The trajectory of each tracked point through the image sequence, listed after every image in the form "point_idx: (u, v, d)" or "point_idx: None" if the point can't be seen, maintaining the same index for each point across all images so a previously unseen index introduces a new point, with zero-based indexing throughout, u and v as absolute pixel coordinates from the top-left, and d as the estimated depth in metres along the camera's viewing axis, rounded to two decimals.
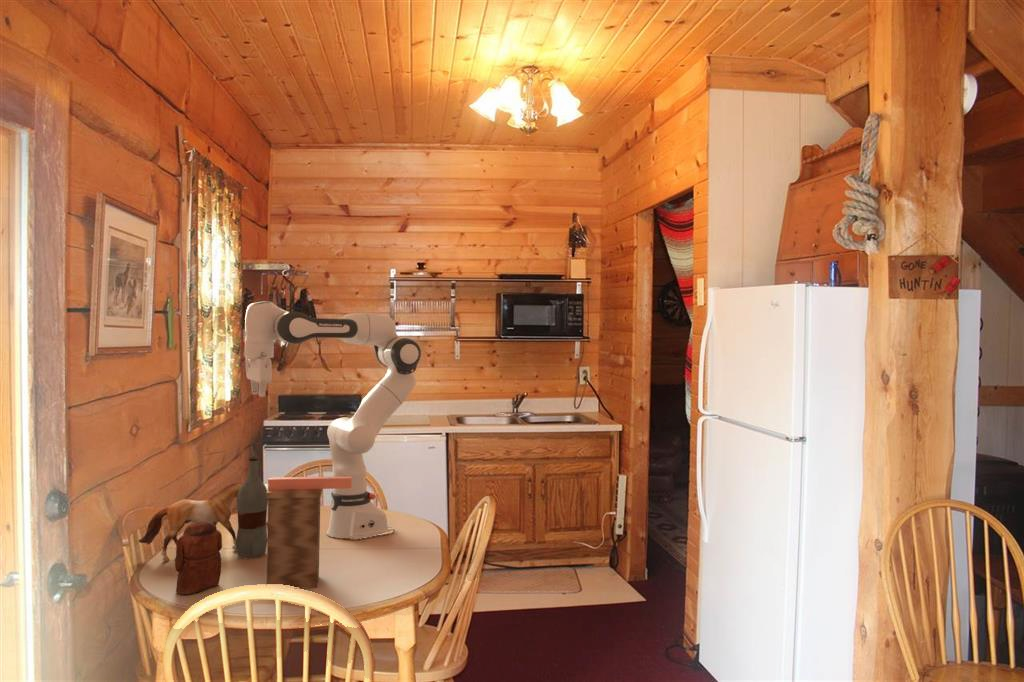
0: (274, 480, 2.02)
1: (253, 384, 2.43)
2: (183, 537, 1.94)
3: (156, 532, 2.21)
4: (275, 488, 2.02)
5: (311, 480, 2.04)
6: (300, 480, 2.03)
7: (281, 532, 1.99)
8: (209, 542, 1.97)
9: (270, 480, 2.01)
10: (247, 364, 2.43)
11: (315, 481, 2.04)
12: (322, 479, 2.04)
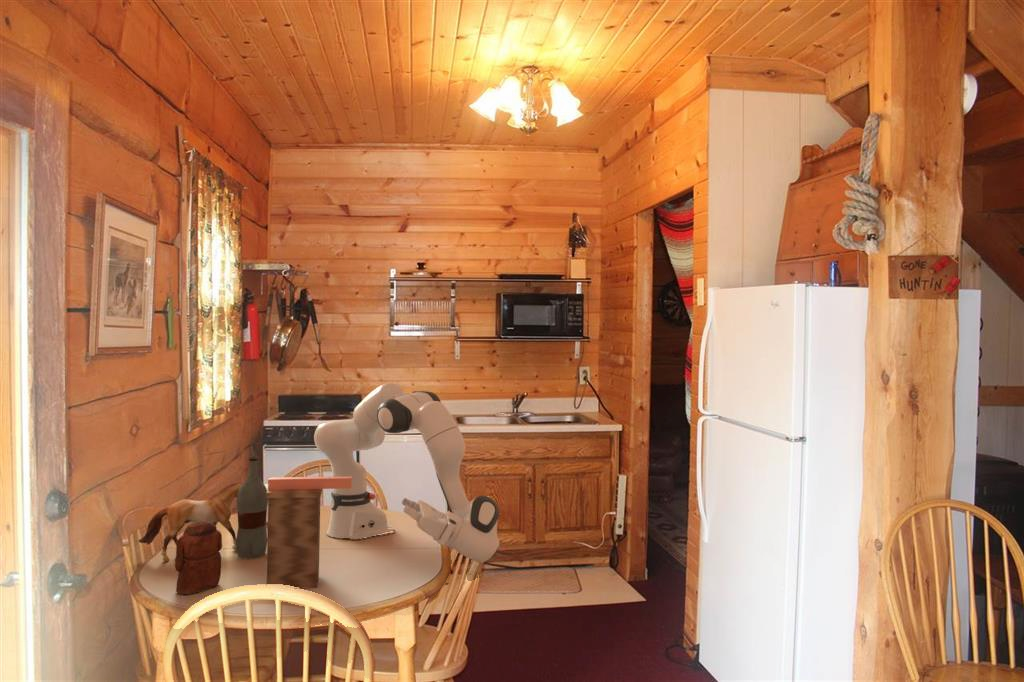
0: (274, 480, 2.02)
1: None
2: (183, 537, 1.94)
3: (156, 532, 2.21)
4: (275, 488, 2.02)
5: (311, 480, 2.04)
6: (300, 480, 2.03)
7: (281, 532, 1.99)
8: (209, 542, 1.97)
9: (270, 480, 2.01)
10: None
11: (315, 481, 2.04)
12: (322, 479, 2.04)
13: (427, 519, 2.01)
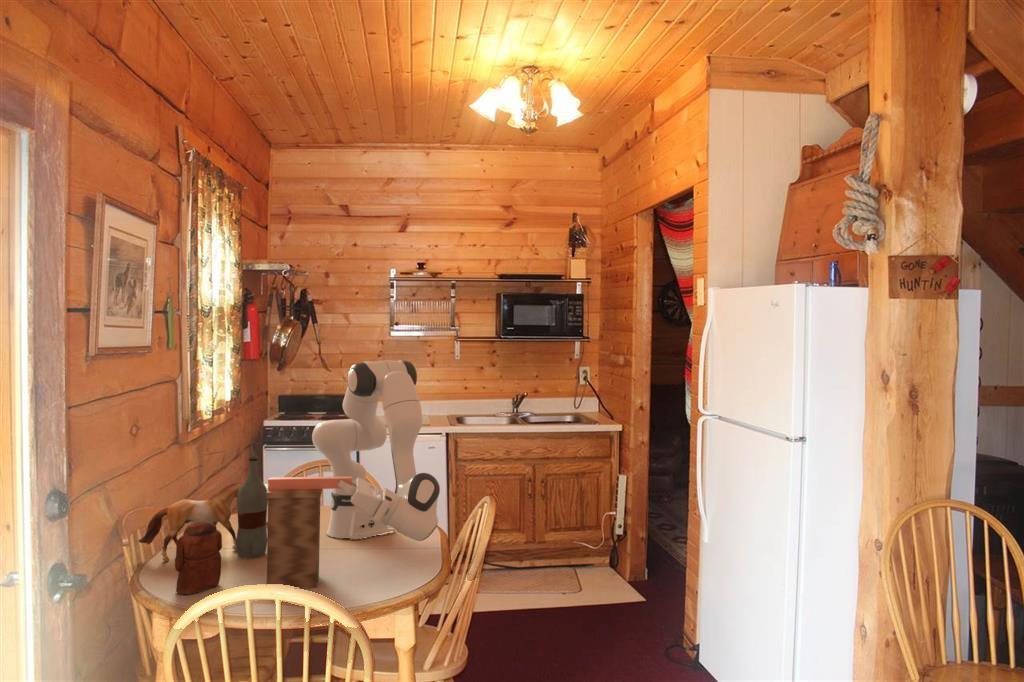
0: (274, 480, 2.02)
1: None
2: (183, 537, 1.94)
3: (156, 532, 2.21)
4: (275, 488, 2.02)
5: (311, 480, 2.04)
6: (300, 480, 2.03)
7: (281, 532, 1.99)
8: (209, 542, 1.97)
9: (270, 480, 2.01)
10: None
11: (315, 481, 2.04)
12: (322, 479, 2.04)
13: (360, 495, 1.98)
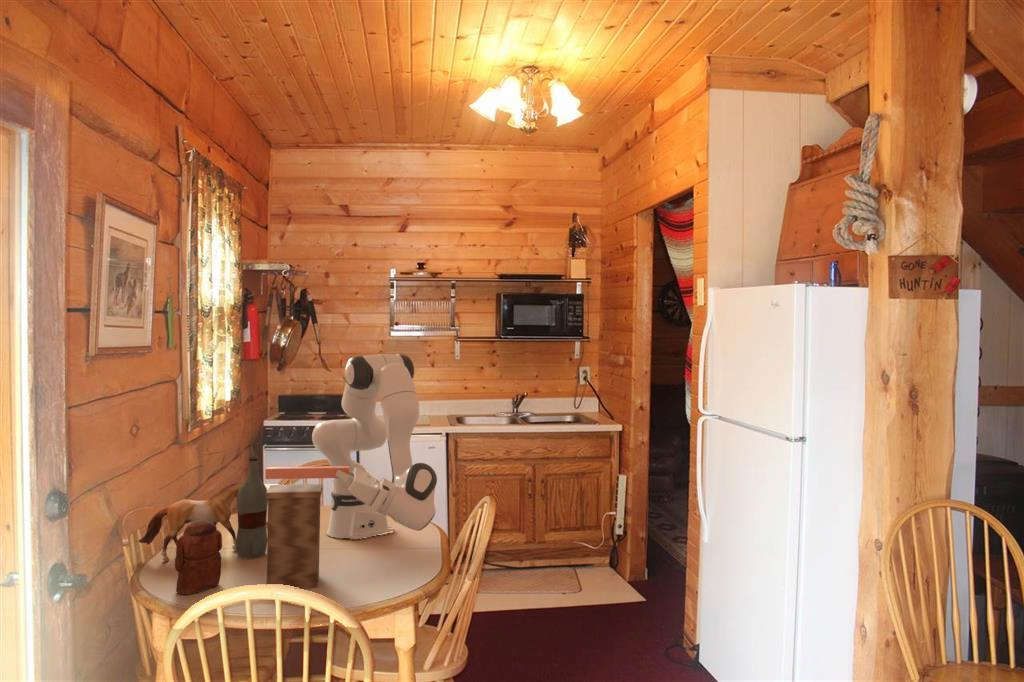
0: (271, 469, 2.02)
1: None
2: (183, 537, 1.94)
3: (156, 532, 2.21)
4: (272, 477, 2.02)
5: (308, 469, 2.03)
6: (297, 469, 2.03)
7: (281, 532, 1.99)
8: (209, 542, 1.97)
9: (267, 469, 2.01)
10: None
11: (312, 470, 2.04)
12: (319, 468, 2.04)
13: (358, 484, 1.98)
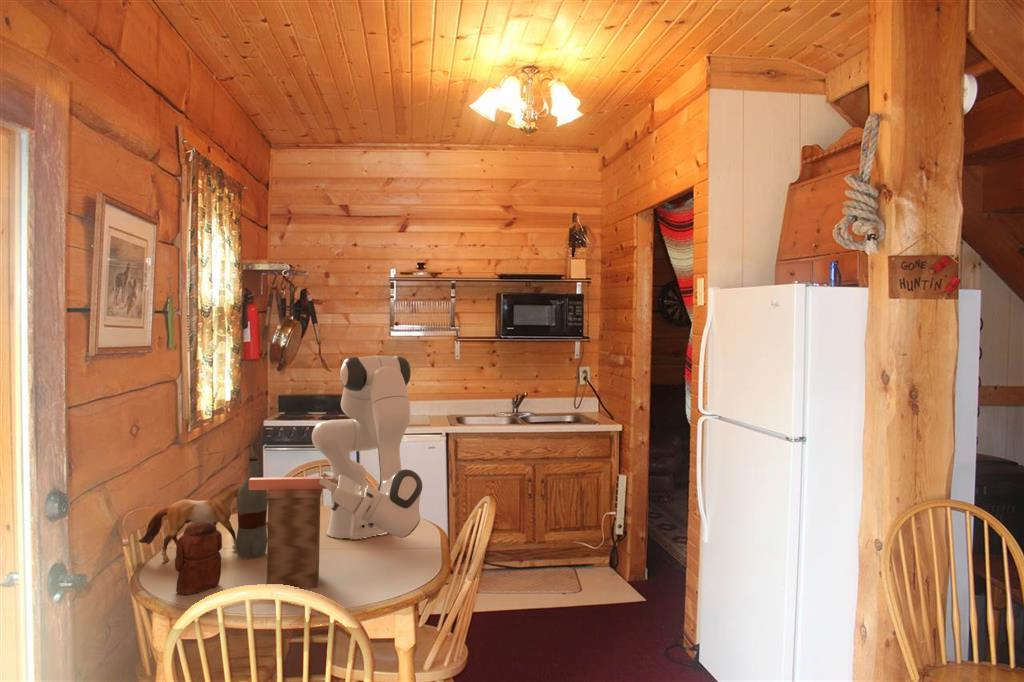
0: (255, 480, 2.01)
1: None
2: (183, 537, 1.94)
3: (156, 532, 2.21)
4: (256, 488, 2.01)
5: (292, 480, 2.03)
6: (281, 480, 2.02)
7: (281, 532, 1.99)
8: (209, 542, 1.97)
9: (251, 480, 2.01)
10: None
11: (296, 481, 2.03)
12: (303, 479, 2.03)
13: (341, 491, 1.97)
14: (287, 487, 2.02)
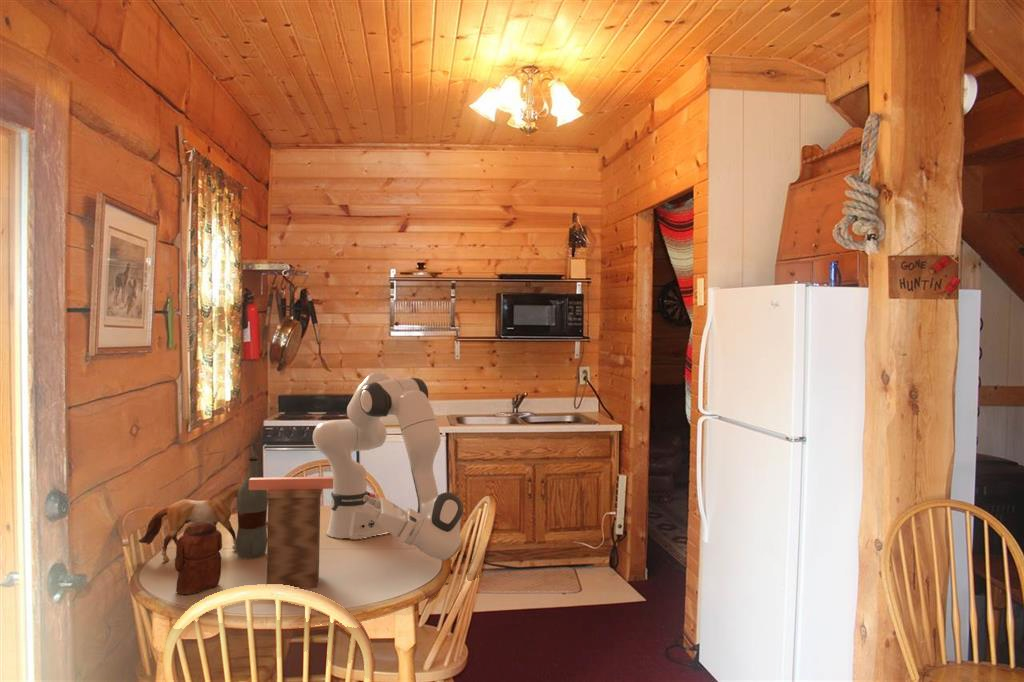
0: (255, 480, 2.01)
1: None
2: (183, 537, 1.94)
3: (156, 532, 2.21)
4: (256, 488, 2.01)
5: (292, 480, 2.03)
6: (281, 480, 2.02)
7: (281, 532, 1.99)
8: (209, 542, 1.97)
9: (251, 480, 2.01)
10: None
11: (296, 481, 2.03)
12: (303, 479, 2.03)
13: (386, 516, 1.99)
14: (287, 487, 2.02)
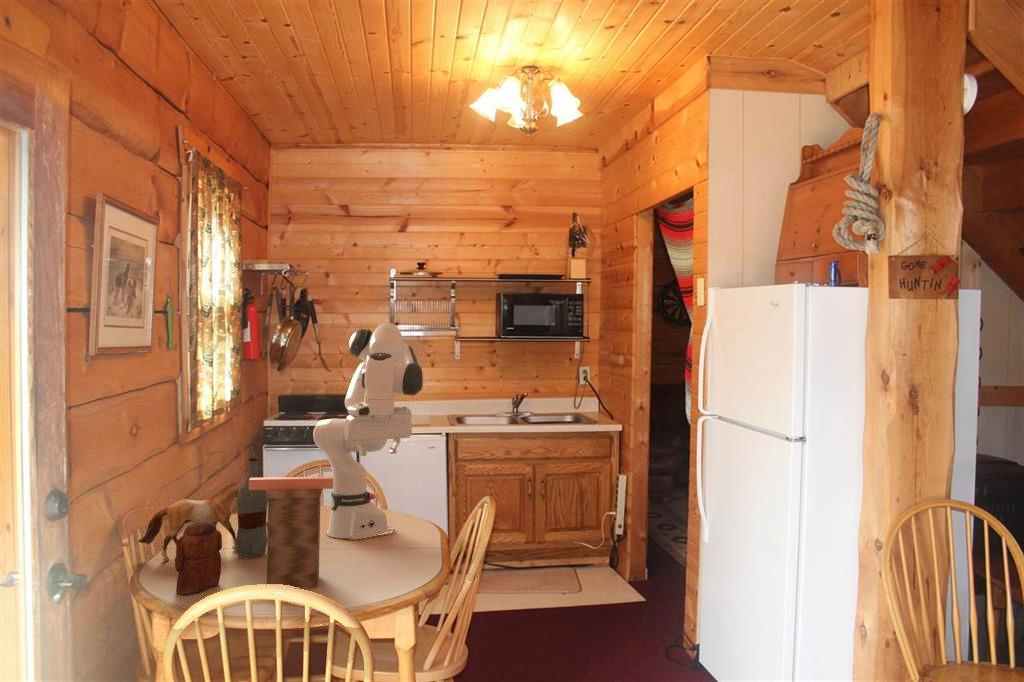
0: (255, 480, 2.01)
1: None
2: (183, 537, 1.94)
3: (156, 532, 2.21)
4: (256, 488, 2.01)
5: (292, 480, 2.03)
6: (281, 480, 2.02)
7: (281, 532, 1.99)
8: (209, 542, 1.97)
9: (251, 480, 2.01)
10: (356, 424, 2.16)
11: (296, 481, 2.03)
12: (303, 479, 2.03)
13: (344, 435, 2.17)
14: (287, 487, 2.02)
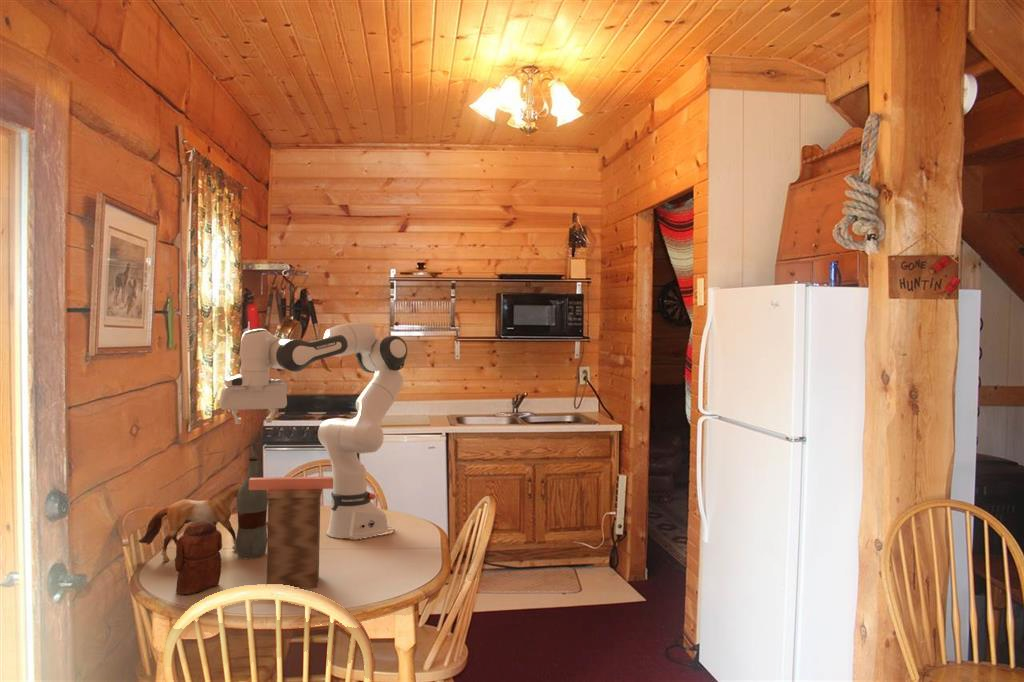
0: (255, 480, 2.01)
1: (235, 414, 2.34)
2: (183, 537, 1.94)
3: (156, 532, 2.21)
4: (256, 488, 2.01)
5: (292, 480, 2.03)
6: (281, 480, 2.02)
7: (281, 532, 1.99)
8: (209, 542, 1.97)
9: (251, 480, 2.01)
10: (230, 394, 2.32)
11: (296, 481, 2.03)
12: (303, 479, 2.03)
13: None
14: (287, 487, 2.02)
